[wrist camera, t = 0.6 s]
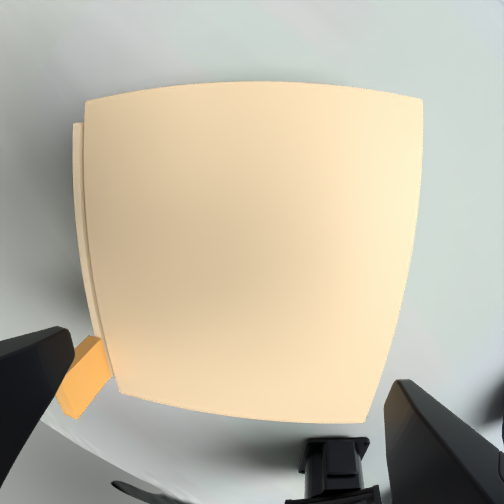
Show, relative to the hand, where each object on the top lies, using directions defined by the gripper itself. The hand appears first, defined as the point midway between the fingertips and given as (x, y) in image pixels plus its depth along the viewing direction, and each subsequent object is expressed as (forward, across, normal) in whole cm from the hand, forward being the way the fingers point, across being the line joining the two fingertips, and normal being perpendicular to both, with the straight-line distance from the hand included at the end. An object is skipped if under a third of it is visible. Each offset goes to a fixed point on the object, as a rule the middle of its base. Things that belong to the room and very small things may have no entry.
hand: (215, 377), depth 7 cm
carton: (+14, +1, 0) cm, 14 cm away
